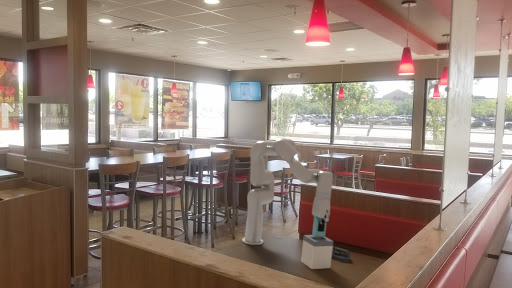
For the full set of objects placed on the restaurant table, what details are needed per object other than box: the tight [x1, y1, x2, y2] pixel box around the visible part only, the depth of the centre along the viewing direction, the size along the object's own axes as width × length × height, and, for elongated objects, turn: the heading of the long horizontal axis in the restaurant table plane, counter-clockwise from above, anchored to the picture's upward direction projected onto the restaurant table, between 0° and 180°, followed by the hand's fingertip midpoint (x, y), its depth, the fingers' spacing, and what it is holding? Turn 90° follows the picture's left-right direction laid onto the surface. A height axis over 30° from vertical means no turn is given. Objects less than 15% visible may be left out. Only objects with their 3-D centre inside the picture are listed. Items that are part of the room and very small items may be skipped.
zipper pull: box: [331, 246, 351, 263], centre depth 224 cm, size 9×7×25 cm
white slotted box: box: [300, 234, 334, 270], centre depth 205 cm, size 11×11×14 cm
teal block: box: [311, 215, 328, 237], centre depth 204 cm, size 3×6×10 cm, turn 113°
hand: (319, 230), depth 205 cm, fingers closed on teal block, 3 cm apart
